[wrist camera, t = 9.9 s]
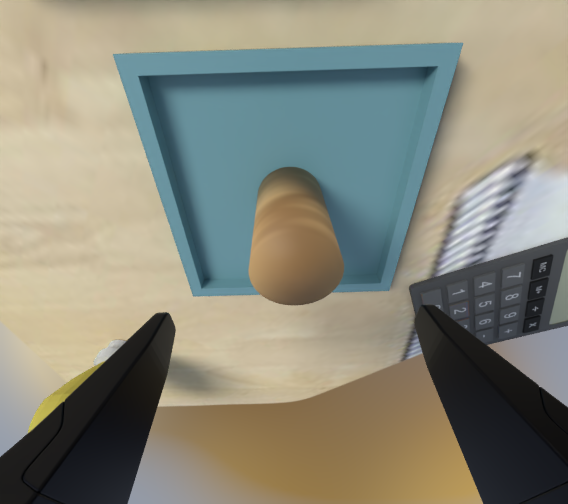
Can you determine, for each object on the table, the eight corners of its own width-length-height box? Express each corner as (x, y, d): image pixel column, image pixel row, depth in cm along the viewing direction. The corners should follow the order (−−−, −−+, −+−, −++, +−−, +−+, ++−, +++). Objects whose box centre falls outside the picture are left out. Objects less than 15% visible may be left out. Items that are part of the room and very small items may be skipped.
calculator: (411, 290, 22) (634, 223, 19) (406, 282, 23) (621, 216, 19) (427, 360, 29) (595, 321, 25) (423, 352, 29) (586, 313, 26)
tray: (446, 42, 13) (463, 42, 12) (383, 277, 22) (389, 290, 21) (128, 53, 13) (113, 54, 12) (198, 282, 22) (193, 296, 21)
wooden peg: (323, 165, 16) (349, 231, 10) (319, 224, 18) (339, 303, 13) (254, 167, 16) (243, 235, 10) (259, 226, 18) (253, 306, 13)
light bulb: (88, 317, 24) (-3, 449, 16) (164, 338, 26) (115, 464, 18) (82, 354, 28) (4, 477, 20) (148, 370, 30) (102, 488, 22)
